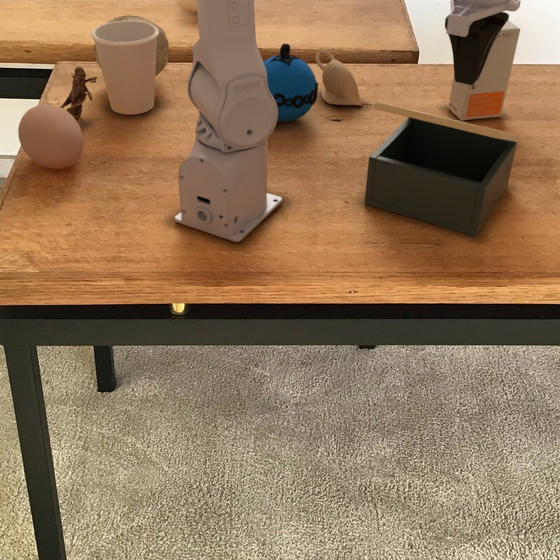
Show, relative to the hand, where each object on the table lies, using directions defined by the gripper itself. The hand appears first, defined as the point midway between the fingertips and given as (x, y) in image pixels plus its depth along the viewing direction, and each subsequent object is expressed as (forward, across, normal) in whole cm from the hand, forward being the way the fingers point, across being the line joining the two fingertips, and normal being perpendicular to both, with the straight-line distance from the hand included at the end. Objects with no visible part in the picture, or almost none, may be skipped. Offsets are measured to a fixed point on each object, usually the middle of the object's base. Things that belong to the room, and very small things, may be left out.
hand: (466, 80), depth 86 cm
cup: (+8, +32, +53) cm, 62 cm away
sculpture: (+10, +1, +46) cm, 47 cm away
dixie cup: (+10, -7, +42) cm, 44 cm away
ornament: (+11, 0, +23) cm, 25 cm away
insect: (+9, -12, +45) cm, 48 cm away
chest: (+10, -8, -1) cm, 13 cm away
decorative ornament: (+11, +10, +20) cm, 25 cm away
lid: (+2, -8, -1) cm, 8 cm away
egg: (+7, -22, +44) cm, 50 cm away
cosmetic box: (+11, +15, +2) cm, 18 cm away
